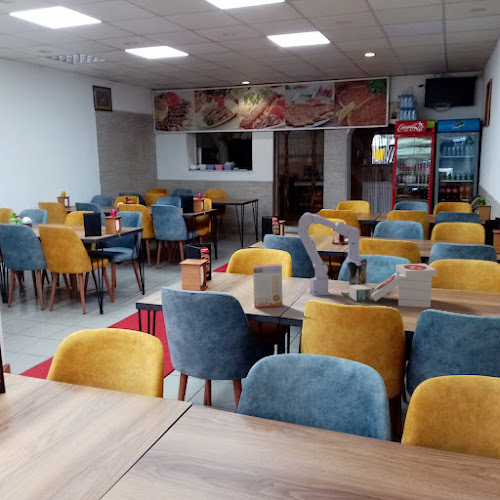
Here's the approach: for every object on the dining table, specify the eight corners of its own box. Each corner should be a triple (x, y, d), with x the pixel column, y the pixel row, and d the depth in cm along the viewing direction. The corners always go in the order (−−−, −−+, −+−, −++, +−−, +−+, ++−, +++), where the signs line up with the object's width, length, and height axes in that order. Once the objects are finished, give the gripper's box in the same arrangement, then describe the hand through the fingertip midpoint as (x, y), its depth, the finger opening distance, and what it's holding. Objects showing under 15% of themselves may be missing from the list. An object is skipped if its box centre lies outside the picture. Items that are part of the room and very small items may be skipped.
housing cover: (355, 301, 261) (355, 289, 260) (348, 296, 269) (349, 285, 268) (371, 299, 262) (372, 288, 261) (364, 295, 271) (365, 284, 270)
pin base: (354, 302, 261) (354, 297, 260) (341, 293, 277) (341, 289, 277) (373, 300, 263) (373, 296, 262) (359, 292, 279) (359, 287, 279)
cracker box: (281, 303, 261) (281, 263, 258) (282, 307, 255) (282, 265, 252) (253, 304, 261) (252, 263, 257) (254, 308, 255) (253, 266, 251)
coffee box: (359, 290, 282) (359, 261, 280) (348, 289, 286) (349, 260, 283) (366, 287, 290) (367, 258, 287) (356, 285, 293) (356, 257, 290)
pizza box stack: (373, 295, 273) (374, 261, 270) (434, 298, 264) (435, 263, 261) (370, 305, 255) (371, 269, 252) (435, 309, 246) (436, 272, 243)
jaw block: (358, 299, 263) (358, 290, 262) (354, 297, 267) (355, 288, 266) (365, 299, 264) (365, 289, 263) (362, 297, 268) (362, 287, 267)
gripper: (366, 252, 264) (366, 278, 267) (355, 248, 278) (354, 272, 281) (353, 253, 263) (353, 279, 265) (342, 249, 277) (342, 273, 279)
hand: (353, 276), depth 273 cm, fingers closed
